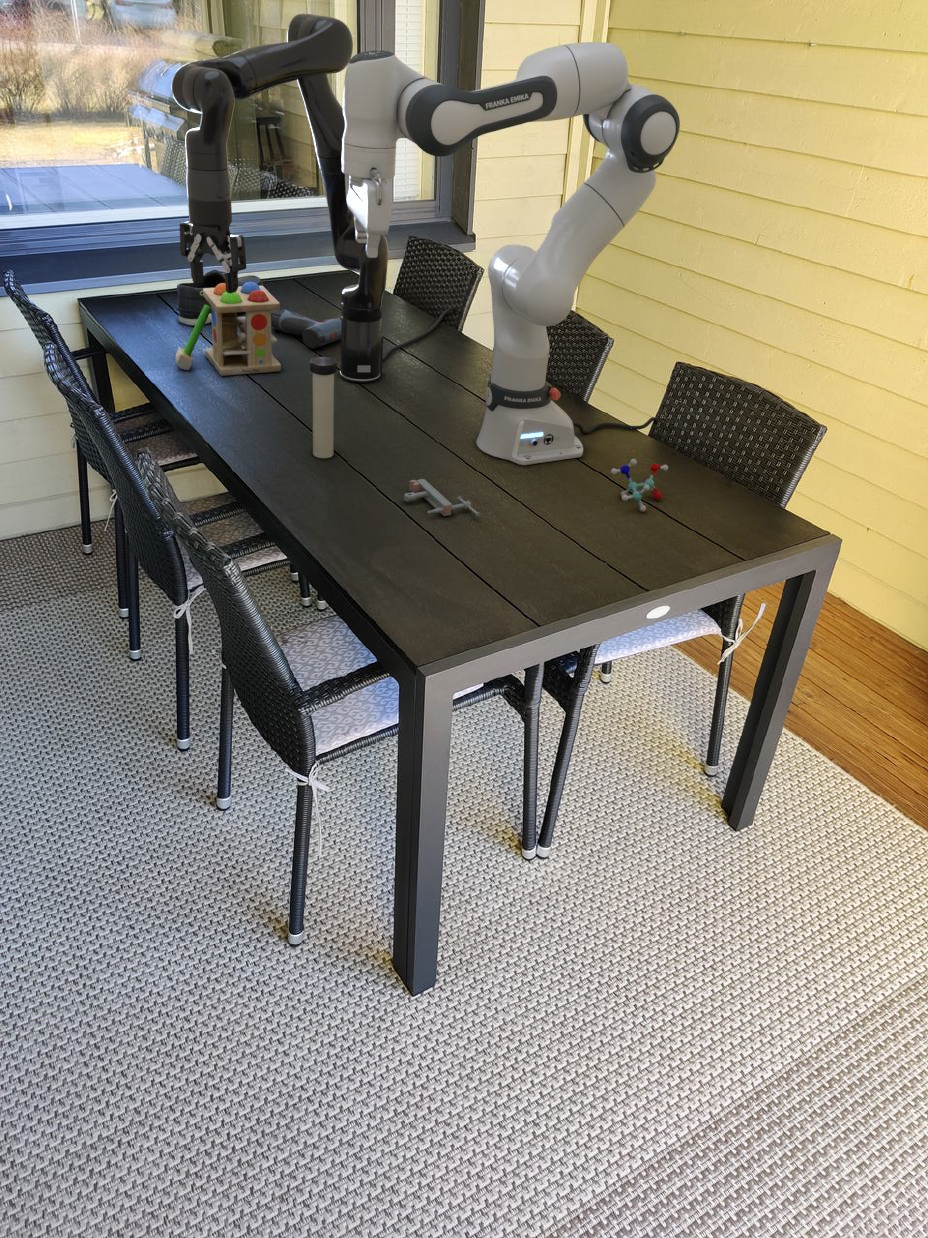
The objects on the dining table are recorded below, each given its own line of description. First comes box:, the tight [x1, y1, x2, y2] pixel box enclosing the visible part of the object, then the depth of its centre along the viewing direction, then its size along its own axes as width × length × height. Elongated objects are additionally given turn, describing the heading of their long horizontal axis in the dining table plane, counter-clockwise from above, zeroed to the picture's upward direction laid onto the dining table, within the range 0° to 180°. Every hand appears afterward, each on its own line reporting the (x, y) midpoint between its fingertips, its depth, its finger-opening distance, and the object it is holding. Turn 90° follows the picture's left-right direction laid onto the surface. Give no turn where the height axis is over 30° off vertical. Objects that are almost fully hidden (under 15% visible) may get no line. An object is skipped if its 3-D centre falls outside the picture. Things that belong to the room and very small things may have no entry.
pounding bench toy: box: [174, 282, 282, 377], centre depth 225 cm, size 23×14×18 cm, turn 116°
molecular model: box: [610, 458, 669, 513], centre depth 187 cm, size 12×10×10 cm
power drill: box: [271, 308, 341, 349], centre depth 252 cm, size 5×19×20 cm
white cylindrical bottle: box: [311, 372, 335, 459], centre depth 190 cm, size 4×4×19 cm
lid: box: [309, 356, 338, 375], centre depth 185 cm, size 5×5×2 cm
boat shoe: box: [175, 269, 265, 326], centre depth 261 cm, size 13×33×10 cm, turn 147°
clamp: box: [403, 478, 481, 518], centre depth 180 cm, size 15×2×10 cm
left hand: (214, 287), depth 183 cm, fingers open, 8 cm apart
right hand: (366, 249), depth 170 cm, fingers open, 8 cm apart
